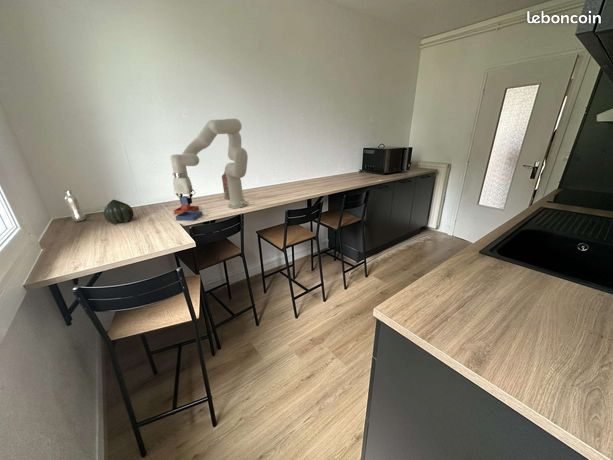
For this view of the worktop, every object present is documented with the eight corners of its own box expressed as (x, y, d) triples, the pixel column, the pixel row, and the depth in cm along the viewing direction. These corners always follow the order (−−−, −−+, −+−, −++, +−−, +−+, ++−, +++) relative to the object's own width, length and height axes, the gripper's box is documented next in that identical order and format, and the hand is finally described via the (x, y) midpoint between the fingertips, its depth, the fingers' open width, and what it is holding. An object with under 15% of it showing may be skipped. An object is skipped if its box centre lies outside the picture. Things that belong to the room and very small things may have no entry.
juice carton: (231, 196, 213) (227, 170, 205) (236, 197, 210) (233, 171, 201) (224, 198, 208) (220, 171, 200) (230, 199, 205) (226, 172, 196)
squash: (123, 218, 150) (125, 195, 155) (96, 220, 148) (99, 198, 153) (136, 226, 164) (138, 205, 168) (112, 228, 162) (114, 207, 166)
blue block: (191, 202, 164) (190, 196, 163) (187, 204, 160) (186, 198, 158) (185, 202, 165) (184, 196, 163) (181, 204, 161) (180, 197, 159)
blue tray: (202, 214, 171) (202, 211, 170) (193, 220, 160) (193, 217, 159) (186, 214, 172) (185, 210, 171) (176, 220, 162) (175, 216, 161)
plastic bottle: (89, 219, 165) (77, 189, 157) (77, 223, 159) (65, 192, 151) (82, 218, 167) (71, 189, 159) (70, 222, 161) (58, 191, 153)
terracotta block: (191, 209, 179) (190, 203, 178) (187, 212, 175) (186, 205, 174) (185, 209, 180) (184, 203, 178) (181, 211, 176) (180, 205, 174)
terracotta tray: (199, 209, 182) (198, 206, 181) (190, 214, 172) (189, 210, 171) (183, 208, 184) (182, 205, 183) (174, 213, 174) (173, 210, 173)
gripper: (164, 176, 153) (171, 204, 160) (190, 176, 151) (195, 205, 158) (172, 174, 160) (178, 201, 167) (196, 174, 158) (201, 202, 165)
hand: (186, 203), depth 162 cm, fingers closed on blue block, 4 cm apart
